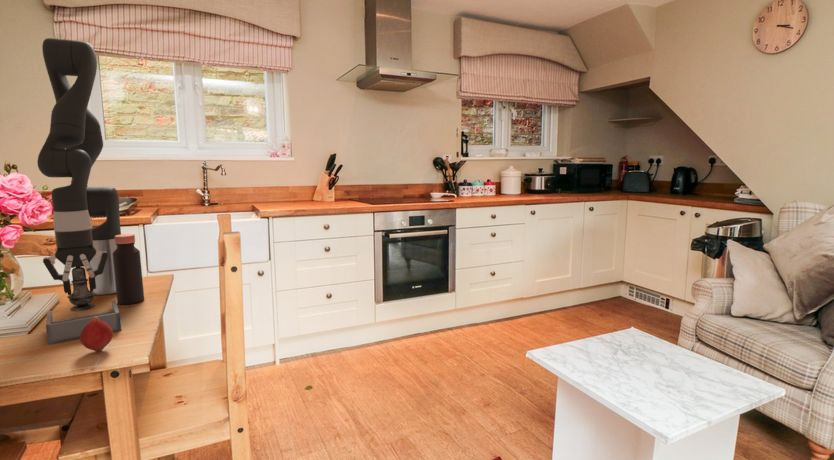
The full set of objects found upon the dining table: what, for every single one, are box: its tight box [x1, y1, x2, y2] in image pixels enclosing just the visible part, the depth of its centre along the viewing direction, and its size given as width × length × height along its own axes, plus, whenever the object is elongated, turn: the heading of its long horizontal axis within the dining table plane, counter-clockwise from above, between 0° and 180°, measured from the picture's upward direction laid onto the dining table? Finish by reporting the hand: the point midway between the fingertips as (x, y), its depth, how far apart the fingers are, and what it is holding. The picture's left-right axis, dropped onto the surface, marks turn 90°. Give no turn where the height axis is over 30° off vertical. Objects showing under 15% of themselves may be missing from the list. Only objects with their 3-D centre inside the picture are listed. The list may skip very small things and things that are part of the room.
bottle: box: [113, 233, 145, 306], centre depth 131 cm, size 7×7×20 cm
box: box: [45, 300, 122, 345], centre depth 110 cm, size 12×14×4 cm
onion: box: [79, 317, 114, 353], centre depth 98 cm, size 6×6×8 cm
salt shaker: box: [67, 266, 96, 312], centre depth 117 cm, size 6×6×12 cm
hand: (80, 292), depth 117 cm, fingers closed on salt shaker, 4 cm apart
